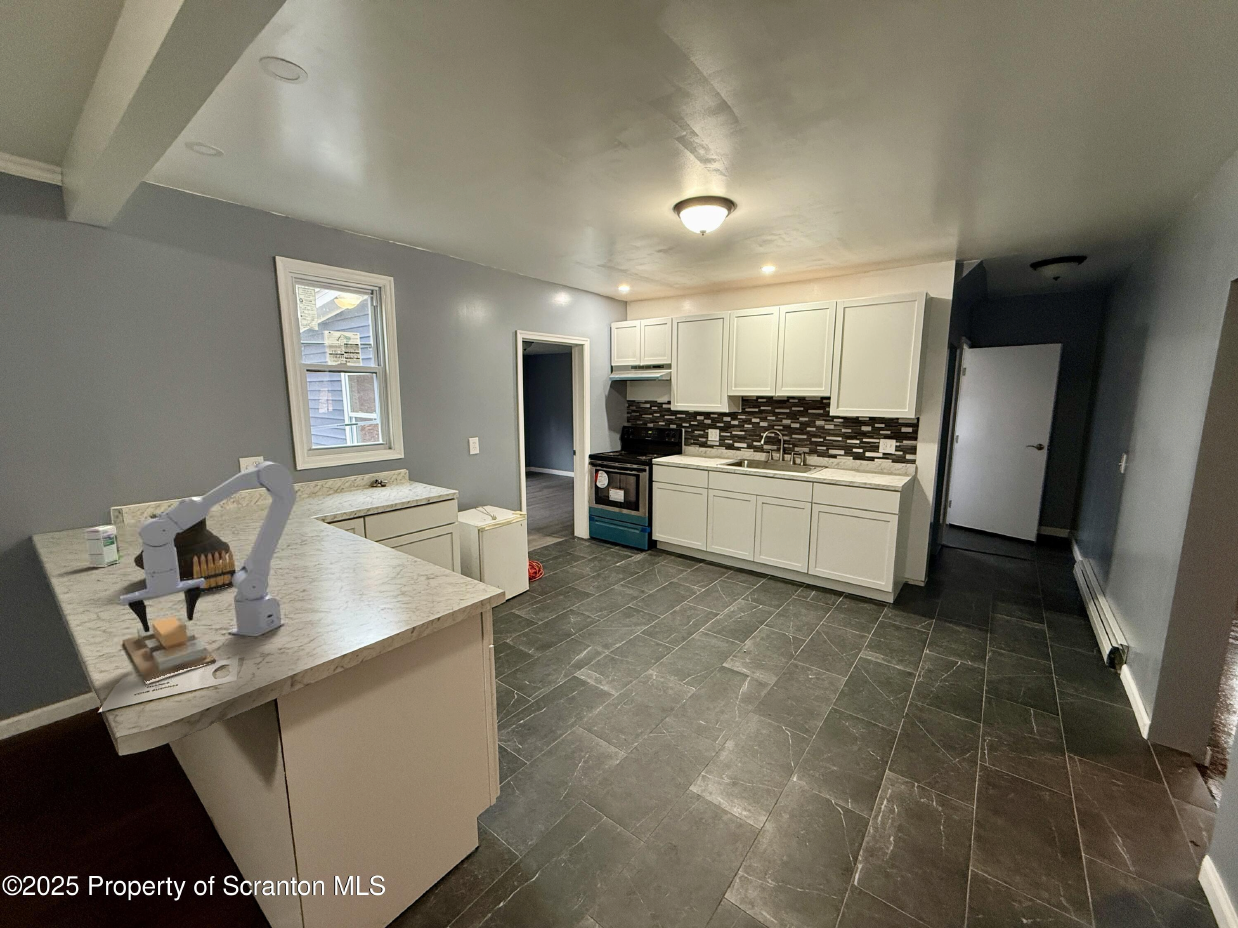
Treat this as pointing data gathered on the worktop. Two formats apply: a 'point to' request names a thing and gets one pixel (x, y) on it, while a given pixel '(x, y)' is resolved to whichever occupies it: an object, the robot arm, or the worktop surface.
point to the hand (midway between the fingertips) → (169, 624)
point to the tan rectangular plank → (169, 632)
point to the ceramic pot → (192, 547)
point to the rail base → (147, 663)
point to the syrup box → (102, 545)
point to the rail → (172, 649)
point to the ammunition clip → (215, 571)
